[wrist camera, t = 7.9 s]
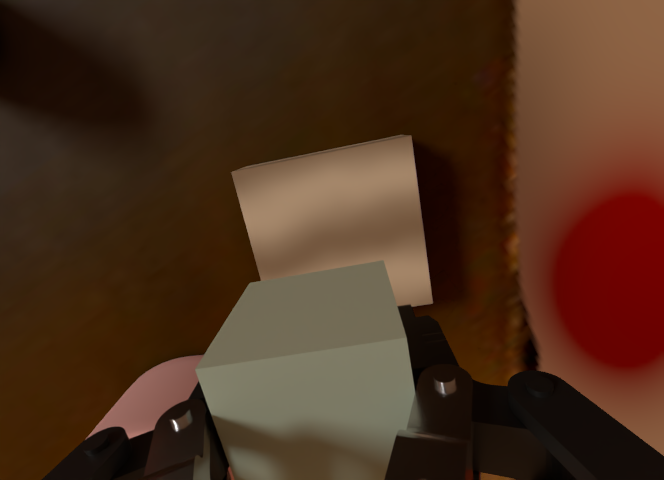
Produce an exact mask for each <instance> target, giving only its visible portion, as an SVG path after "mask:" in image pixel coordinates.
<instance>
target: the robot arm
mask: <svg viewBox="0 0 664 480" xmlns="http://www.w3.org/2000/svg"><path fill="white" fill-rule="evenodd" d="M397 307H398V310H399V314H400V317H401V321H402V324H403V327H404V331H405V334H406V337H407V343H408V350H409V356H410V363H411V369H412V375H413V382H414V388H415V395H414V400H413V404H412V408H411V412H410V416H409V421H408V425H407V429H406V430H402V429H400V430H399V431H398V432H397V434H396V438H395V441H394V445H393V449H392V453H391V456H390V460H389V464H388V468H387V471H386V475H385V479H384V480H481V472H483V473H488V474H494V475H499V476H504V477H509V478H515V479H516V480H664V456H663V455H661V454H660V453H659V452H657V451H656V450H655V449H654V448H652V447H651V446H650V445H648V444H647V443H646V442H644V441H643V440H642V439H640V438H639V437H638V436H636V435H635V434H634V433H633V432H631V431H630V430H628V429H627V428H626V427H625V426H623V425H622V424H621V423H619V422H618V421H617V420H615V419H614V418H612V417H611V416H610V415H609V414H607V413H606V412H605V411H603V410H602V409H601V408H599V407H598V406H597V405H596V404H594V403H593V402H592V401H590V400H589V399H588V398H586V397H585V396H583V395H582V394H581V393H580V392H578V391H577V390H576V389H574V388H573V387H572V386H570V385H569V384H568V383H566V382H565V381H564V380H562V379H561V378H559V377H557V376H555V375H552V374H549V373H546V372H541V371H523V372H519V373H517V374H515V375H513V376H512V377H511V378H510V380H509V381H508V386H497V385H489V384H484V383H480V382H477V381H475V380H473V379H472V378H471V376H470V374H469V373H468V372H467V371H466V370H464V369H462V368H461V367H459V365H458V363H457V361H456V359H455V357H454V354H453V352H452V350H451V348H450V346H449V344H448V342H447V340H446V338H445V336H444V334H443V333H442V330H441V328H440V326H439V324H438V322H437V321H435V320H434V319H433V318H431V317H430V316H422V317H415V315H414V312H413V309H412V307H411V304H408V305H402V306H397ZM228 468H229V463H228V460H227V457H226V455H225V452H224V449H223V446H222V443H221V441H220V438H219V435H218V432H217V430H216V427H215V424H214V421H213V418H212V416H211V413H210V410H209V407H208V405H207V402H206V399H205V396H204V394H203V391H202V388H201V385H200V382H199V381H198V383H197V385H196V386H195V388H194V390H193V391H192V393H191V395H190V397H189V398H188V400H186V401H183V402H180V403H178V404H176V405H174V406H173V407H171V408H170V409H168V410H167V411H166V412H165V413H163V414H162V416H161V417H160V418H159V419H158V421H157V423H156V425H155V429H154V430H152V431H149V432H146V433H143V434H141V435H138V436H135V437H133V438H130V439H129V438H128V435H127V433H126V431H125V429H124V428H122V427H119V426H115V427H109V428H106V429H103V430H101V431H99V432H97V433H95V434H93V435H92V436H90V437H89V438H87V439H86V440H84V441H83V442H82V443H81V444H80V445H79V446H78V447H76V448H75V449H74V450H73V451H72V452H71V453H70V454H69V455H68V456H67V457H66V458H65V459H64V460H62V461H61V462H60V463H59V464H58V465H57V466H56V467H55V468H54V469H53V470H52V471H51V472H50V473H48V474H47V475H46V476H45V477H44V478H43V479H42V480H231V475H230V472H229V470H228Z"/></svg>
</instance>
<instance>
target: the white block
mask: <svg viewBox="0 0 664 480" xmlns="http://www.w3.org/2000/svg"><path fill="white" fill-rule="evenodd" d="M195 371H196V374H197V377H198V380H199V382H200V385H201V388H202V391H203V394H204V396H205V399H206V402H207V405H208V407H209V410H210V413H211V416H212V418H213V421H214V424H215V427H216V430H217V432H218V435H219V438H220V441H221V443H222V446H223V449H224V452H225V455H226V457H227V460H228V463H229V466H230V468H231V471H232V474H233V477H234V479H235V480H384V479H385V475H386V471H387V468H388V464H389V460H390V456H391V453H392V449H393V445H394V441H395V438H396V434H397V432H398V431H399V430H400V429H402V430H406V429H407V425H408V421H409V416H410V412H411V408H412V404H413V400H414V395H415V388H414V382H413V375H412V369H411V363H410V356H409V350H408V343H407V337H406V334H405V331H404V327H403V324H402V321H401V317H400V314H399V310H398V307H397V304H396V300H395V297H394V294H393V290H392V287H391V284H390V280H389V277H388V273H387V270H386V267H385V263H384V260H381V261H376V262H370V263H364V264H358V265H352V266H346V267H341V268H335V269H329V270H323V271H317V272H311V273H306V274H300V275H294V276H288V277H282V278H276V279H271V280H265V281H259V282H253V283H249V285H248V286H247V288H246V290H245V291H244V293H243V294H242V296H241V297H240V299H239V301H238V302H237V304H236V305H235V307H234V308H233V310H232V312H231V313H230V315H229V316H228V318H227V320H226V321H225V323H224V324H223V326H222V327H221V329H220V331H219V332H218V334H217V335H216V337H215V338H214V340H213V342H212V343H211V345H210V346H209V348H208V350H207V351H206V353H205V354H204V356H203V357H202V359H201V361H200V362H199V364H198V365H197V367H196V368H195Z"/></svg>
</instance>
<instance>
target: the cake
mask: <svg viewBox="0 0 664 480" xmlns="http://www.w3.org/2000/svg"><path fill="white" fill-rule="evenodd" d="M203 356H204V355H196V356H187V357H181V358H177V359H173V360H170V361H167V362H164V363H162V364H160V365H158V366H156V367H153V368H152V369H150V370H149V371H147V372H145V373H144V374H143V375H142V376H140V377H139V378H138V379H137V380H136V381H135V382H134V383H133V384H132V385H131V387H130V388H129V389H128V390H127V391H126V392H125V393H124V394H123V396H122V397H121V398H120V399H119V400H118V402H117V403H116V404H115V405H114V406H113V407H112V409H111V410H110V411H109V412H108V413H107V415H106V416H105V417H104V418H103V419H102V420H101V422H100V423H99V424H98V425H97V426H96V428H95V429H94V430H93V431H92V432H91V434H90V435H89V436H88V437H87V438H89V437H90V436H92V435H93V434H95V433H97V432H99V431H101V430H103V429H106V428H109V427H115V426H119V427H122V428H124V429H125V431H126V433H127V435H128V438H129V439H130V438H133V437H135V436H138V435H141V434H143V433H146V432H149V431H152V430H154V429H155V425H156V423H157V421H158V419H159V418H160V417H161V416H162V414H163V413H165V412H166V411H167V410H168V409H170V408H171V407H173V406H174V405H176V404H178V403H180V402H183V401H186V400H188V398H189V397H190V395H191V393H192V391H193V390H194V388H195V386H196V385H197V383H198V381H199V380H198V377H197V374H196V371H195V368H196V367H197V365H198V364H199V362H200V361H201V359H202V357H203ZM87 438H86V439H87ZM86 439H85V440H86ZM228 470H229V472H230V475H231V480H235V479H234V477H233V474H232V471H231V468H230V466H229V468H228Z"/></svg>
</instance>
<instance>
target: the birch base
mask: <svg viewBox="0 0 664 480" xmlns="http://www.w3.org/2000/svg"><path fill="white" fill-rule="evenodd" d="M231 173H232V177H233V180H234V184H235V188H236V191H237V195H238V198H239V202H240V206H241V209H242V213H243V217H244V220H245V224H246V227H247V231H248V235H249V238H250V242H251V245H252V249H253V253H254V256H255V260H256V264H257V267H258V271H259V274H260V278H261V281H265V280H271V279H276V278H282V277H288V276H294V275H300V274H306V273H311V272H317V271H323V270H329V269H335V268H341V267H346V266H352V265H358V264H364V263H370V262H376V261H381V260H384V263H385V267H386V270H387V273H388V277H389V280H390V284H391V287H392V290H393V294H394V297H395V300H396V304H397V306H402V305H408V304H411V307H414V306H420V305H426V304H433V300H432V292H431V285H430V277H429V269H428V261H427V254H426V246H425V238H424V230H423V222H422V215H421V207H420V199H419V191H418V184H417V176H416V168H415V160H414V153H413V145H412V137H411V136H410V135H399V136H394V137H389V138H384V139H379V140H375V141H370V142H365V143H360V144H355V145H350V146H345V147H340V148H335V149H330V150H325V151H320V152H315V153H310V154H306V155H301V156H296V157H291V158H286V159H281V160H276V161H271V162H266V163H261V164H256V165H251V166H247V167H244V168H241V169H238V170H235V171H233V172H231Z"/></svg>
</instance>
